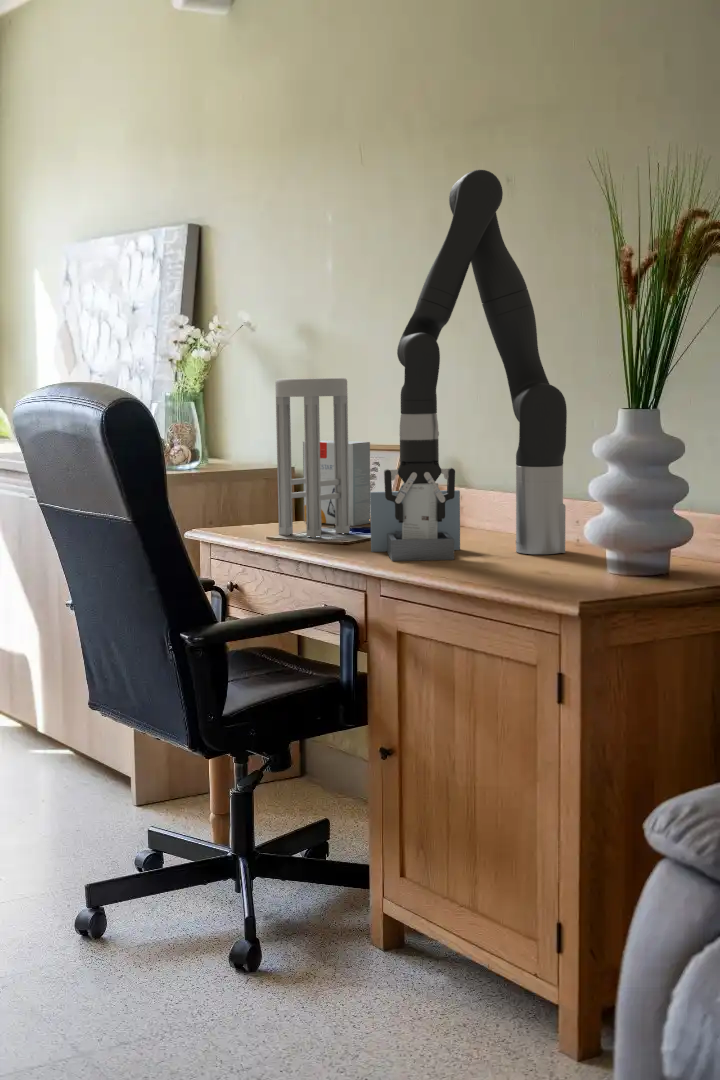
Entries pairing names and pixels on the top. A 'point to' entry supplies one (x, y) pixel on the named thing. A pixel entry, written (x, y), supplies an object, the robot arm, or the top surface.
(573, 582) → the top surface
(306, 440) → the stool
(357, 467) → the hard drive box
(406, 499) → the skincare box
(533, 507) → the robot arm
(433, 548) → the grey open tray
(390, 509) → the backboard
